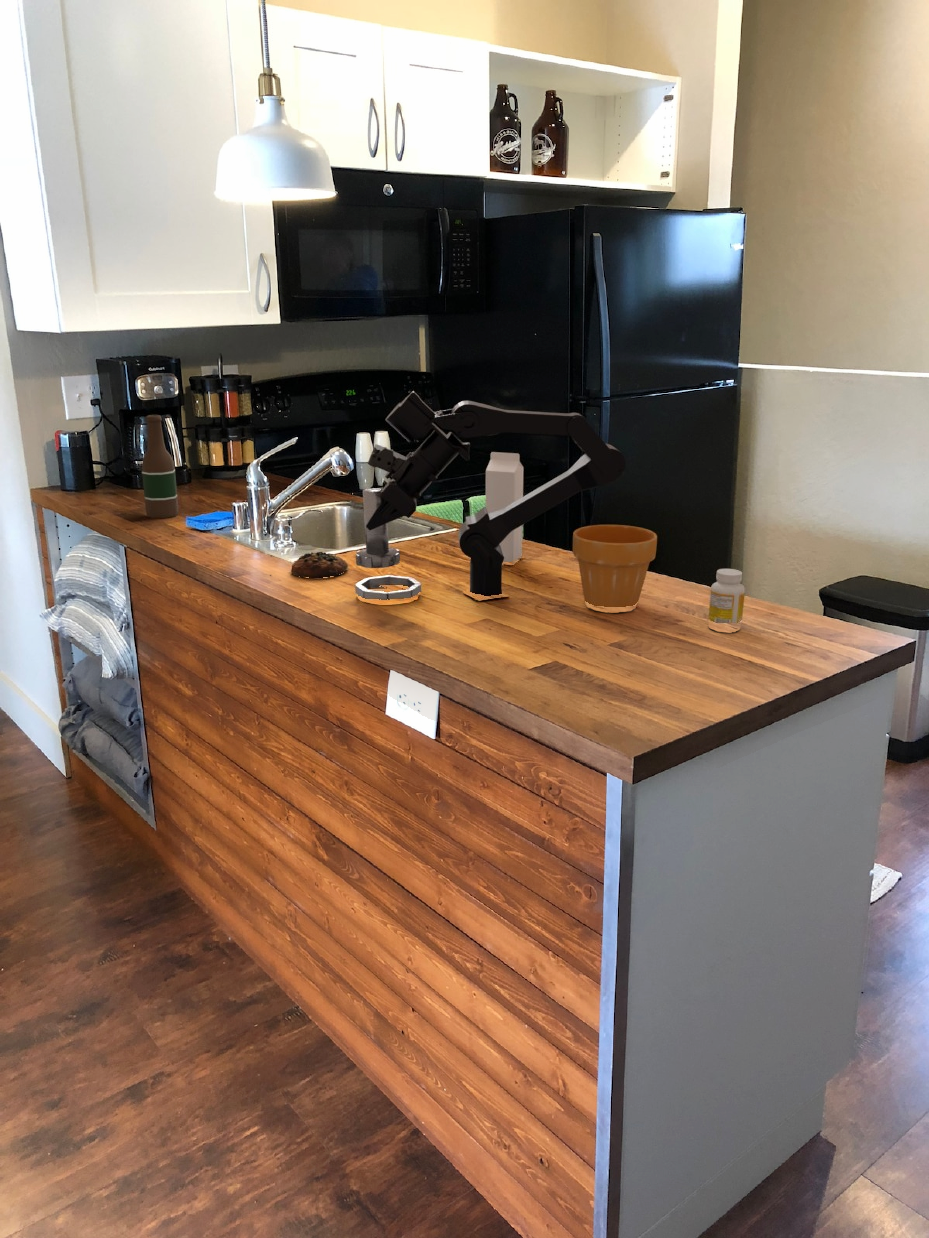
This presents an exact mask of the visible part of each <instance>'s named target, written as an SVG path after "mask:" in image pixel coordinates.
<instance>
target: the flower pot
mask: <svg viewBox="0 0 929 1238" xmlns="http://www.w3.org/2000/svg"><path fill="white" fill-rule="evenodd" d="M572 534H573V535H572V554H573V557H575V558H576V559H577V562H578V568H579V575H580V582H581V588H582V594H583V598H584V602H585V601H586V602H588V603H589V604H592V605H594V606H604V607H626V606H633V605H635V604H636V603H637V602H638V603H639V600H640V596H641V593H642V590H643V587H644V583H645V579H646V576H647V572H648V569H649V565H650V562H652V561H654V560H655V559H656V553H657V544H658V535H657V533H655V532H654V531H653V530H650V529H647V528H644V527H638V526H633V525H632V526H631V525H625V524H623V525H622V524H594V525H587V526H583V527H579V528H577V529H575V530H574V531H573V533H572Z"/></svg>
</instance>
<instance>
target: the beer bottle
mask: <svg viewBox="0 0 929 1238" xmlns="http://www.w3.org/2000/svg"><path fill="white" fill-rule="evenodd" d="M162 420H163V419H162V416H161V415H159V414H149V415H146V417H145V422H146V427H147V429H146V430H147V450H146V452H145V454H144V456H143V458H142V460H141V461H142V462H141V476H142V485H143V497H144V498H143V499H144V504H145V505H144V506H145V514H146V517H147V518H151V519H170V518H173V517H176V516H178V514H179V499H178V488H177V480H176V479H177V478H176V469H175V468H176V467H175V461H174V459H173V458H172V455H171V454H170V452H169V451H168V450H167V449H166V445H165V440H164V433H163V427H162Z"/></svg>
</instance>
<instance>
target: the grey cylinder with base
mask: <svg viewBox="0 0 929 1238" xmlns="http://www.w3.org/2000/svg"><path fill="white" fill-rule="evenodd" d="M380 492H381V488H378V487H377V488H376V487H375V488H374V487H373V488H366V489H363V490H362V500H363V516H364V534H365V535H364V537H365V548H363V549H361V550H358V551H356V554H355V564H356V566H358V567H361V568H367V569H384V568H391V567H392V566H396V565H397V566H398V565H399V564H400V562H401V554H400V553H401V551H400V549H398V548H392V547H389V546H390V545H389V544H390V543H389V524H388V523H386V524H384V525H382V526H379V527H377V528H375V529H372V530H369V529H368V528H366V525H367V523H368V521H369V520H370V518H371V517H372V515H373V514H374V512H375V511H376V509H377V507H378V506H379V504H380V503H381V494H380Z"/></svg>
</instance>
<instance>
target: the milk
mask: <svg viewBox="0 0 929 1238" xmlns="http://www.w3.org/2000/svg"><path fill="white" fill-rule="evenodd" d="M520 457H521V456H520V454H519V453H518V452H517V453H514V452H497V451H491V453H490V460H489V462H488V465H487V467H486V469H485V507H486V509H487V512H488V513H491V512H495V511H499V510H501V509H503V508H505V507H507V506H508V505H510V504H512V503H513V502H515V501H517V500H519V499H520V498H522V497H524V466H523V464H522V463H521V461H520ZM499 545H500V546H501V549H502V553H503V556H504V560H503V562H514V561H516V560H517V559H518V558H520V557H521V556H523V555H522V554H523V551H522V550H523V549H522V548H523V525H522V526H520V527H518V528H516V529H515V530H513V531H512V532H510V533H509V534H508V535H507V537H506V538H505V539H504V540H503V541H502V542H501V543H500V544H499Z"/></svg>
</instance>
